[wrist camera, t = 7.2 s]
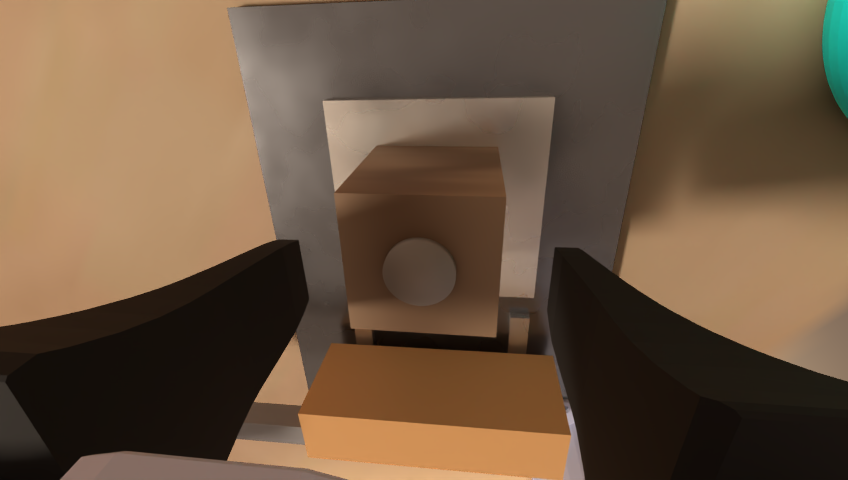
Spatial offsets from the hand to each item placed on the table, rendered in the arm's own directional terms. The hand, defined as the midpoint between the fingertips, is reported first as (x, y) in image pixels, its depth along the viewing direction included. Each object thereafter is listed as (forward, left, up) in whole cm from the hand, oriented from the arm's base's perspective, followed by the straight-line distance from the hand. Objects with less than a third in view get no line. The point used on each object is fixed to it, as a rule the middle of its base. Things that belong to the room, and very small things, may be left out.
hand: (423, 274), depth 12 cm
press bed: (0, +2, -6) cm, 6 cm away
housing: (0, 0, -5) cm, 5 cm away
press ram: (+4, +8, -4) cm, 10 cm away
